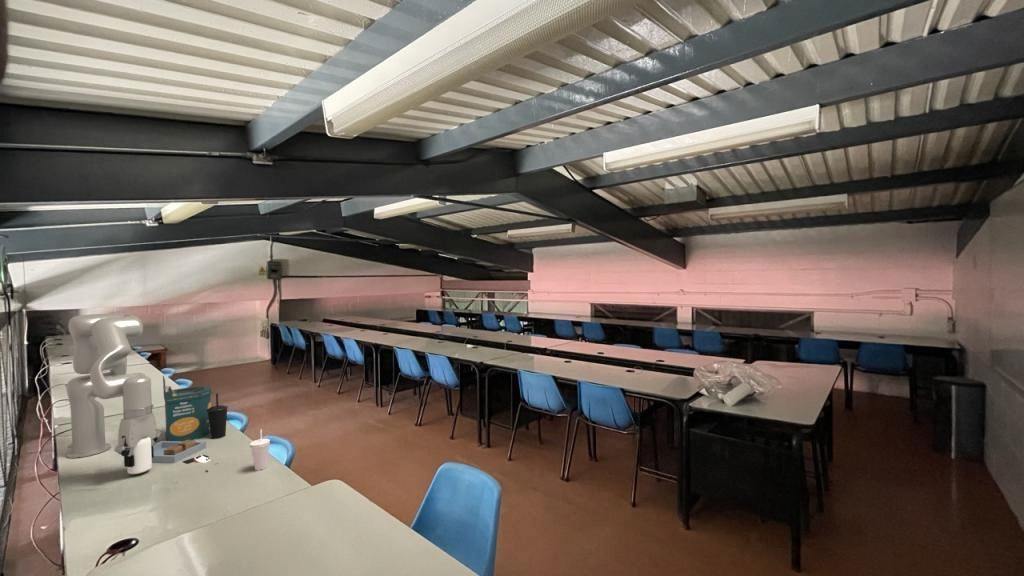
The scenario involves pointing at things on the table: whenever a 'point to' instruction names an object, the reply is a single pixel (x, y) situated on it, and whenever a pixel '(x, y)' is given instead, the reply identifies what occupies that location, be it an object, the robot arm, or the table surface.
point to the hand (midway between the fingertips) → (139, 461)
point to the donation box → (187, 412)
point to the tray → (162, 458)
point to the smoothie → (260, 452)
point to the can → (141, 457)
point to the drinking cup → (217, 420)
